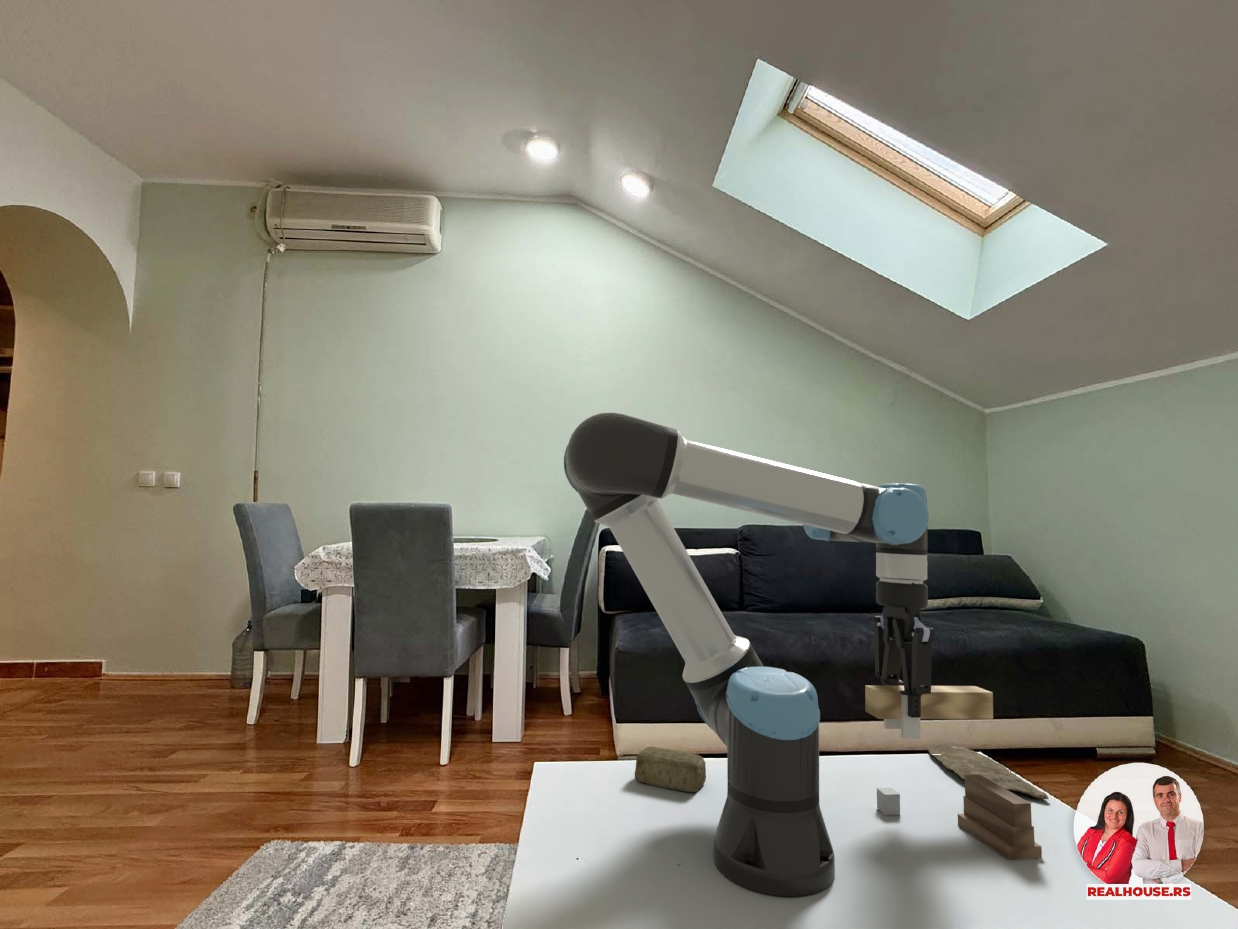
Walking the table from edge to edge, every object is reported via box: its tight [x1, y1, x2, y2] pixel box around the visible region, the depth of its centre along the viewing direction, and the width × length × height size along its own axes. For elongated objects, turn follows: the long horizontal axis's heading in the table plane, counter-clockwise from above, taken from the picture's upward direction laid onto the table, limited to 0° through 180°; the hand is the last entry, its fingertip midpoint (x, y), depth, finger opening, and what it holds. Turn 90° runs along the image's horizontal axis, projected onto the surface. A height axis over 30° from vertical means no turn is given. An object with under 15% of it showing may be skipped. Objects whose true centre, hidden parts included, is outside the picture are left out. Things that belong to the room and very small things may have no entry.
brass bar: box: [864, 684, 994, 720], centre depth 100 cm, size 19×4×4 cm, turn 97°
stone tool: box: [926, 742, 1049, 800], centre depth 114 cm, size 11×3×25 cm
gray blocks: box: [876, 787, 901, 816], centre depth 99 cm, size 17×2×3 cm, turn 97°
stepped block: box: [957, 774, 1043, 861], centre depth 90 cm, size 5×10×7 cm, turn 8°
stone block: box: [634, 746, 707, 793], centre depth 108 cm, size 6×12×5 cm, turn 66°
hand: (901, 732), depth 99 cm, fingers closed on brass bar, 4 cm apart
